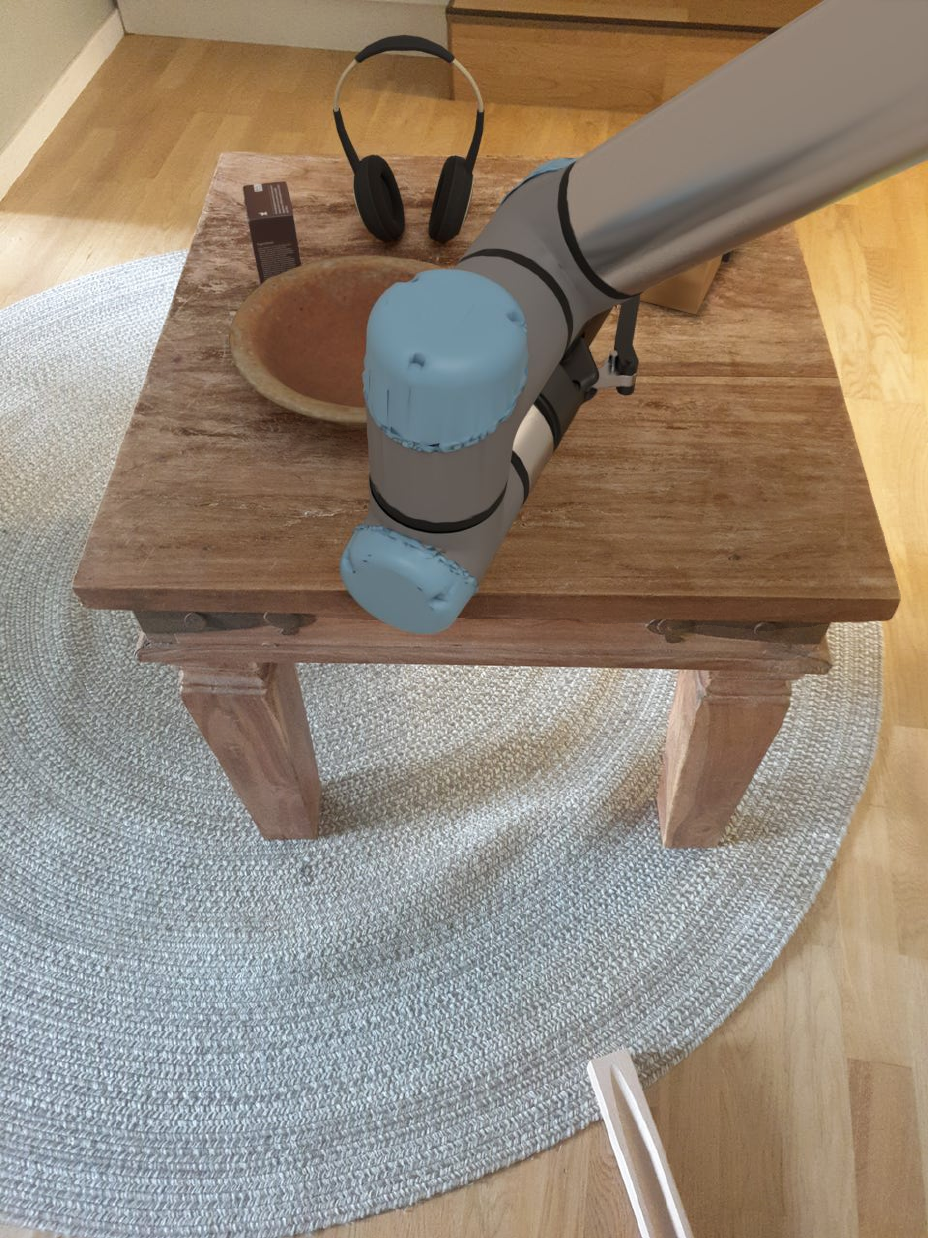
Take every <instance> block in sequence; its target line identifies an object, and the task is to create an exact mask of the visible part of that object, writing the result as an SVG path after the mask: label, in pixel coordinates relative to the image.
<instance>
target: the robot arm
mask: <svg viewBox="0 0 928 1238" xmlns="http://www.w3.org/2000/svg"><path fill="white" fill-rule="evenodd" d="M927 161H928V0H822V1H821V2H819V3H817V5H815V6H813V7H811V8H810V9H808V10H807V11H805V12H804V13H802V14H801V15H799V16H798V17H796V18H795V19H793V20H792V21H791V20H790V22H788V23H787V24H785V25H784V26H782V27H780V28H779V29H777V30H776V31H775V32H773V33H771V34H770V35H768V36H766V37H765V38H763V39H761V40H760V41H759V42H757V43H756V44H754V45H753V46H751V47H749V48H748V49H746V50H744V51H743V52H741V53H740V54H739V55H737V56H735V57H733V59H731V60H729V61H727V62H726V63H724V64H723V65H722V66H720V67H718V68H717V69H715V70H714V71H712V72H711V73H708V75H706V76H704V77H702V78H701V79H700V80H698V81H697V82H695V83H694V84H692V85H690V86H689V87H688V88H686V89H684V90H682V91H681V92H680V93H677V95H674V97H671V98H670V99H668V100H666V102H664V103H662V104H661V105H659V106H658V107H656V108H655V109H653V110H651V111H650V112H648V113H646V114H645V115H644V116H642V117H641V118H638V120H636V121H634V122H633V123H631V124H630V125H628V126H626V127H625V128H624V129H622V130H619V132H617V133H616V134H614V135H612V136H611V137H609V138H608V139H606V140H604V141H603V142H602V143H600V144H598V145H596V146H595V147H594V148H593V149H591V150H589V151H588V152H586V153H584V154H583V155H581V156H580V157H575V158H574V157H573V158H572V157H562V158H553V159H550V160H547V161H545V162H543V163H542V164H540V165H539V166H537V167H535V168H534V169H532V171H531V172H530V173H529V174H527V176H526V177H525V178H524V179H523V180H521V181H519V183H517V185H516V186H514V187H513V188H512V189H511V190H509V191H508V192H507V193H506V194H505V195H504V197H503V198H502V199H501V202H500V204H499V205H498V207H497V209H496V210H495V211H494V213H493V215H492V216H491V218H490V219H489V221H488V222H487V223H486V224H485V226H484V227H483V228H482V230H481V231H480V232H479V234H478V235H477V237H475V239H474V240H473V242H472V243H471V244H470V245H469V247H468V248H467V249H466V251H465V252H464V254H463V255H462V256H461V258H459V260H458V261H457V263H456V264H455V265H454V267H452V268H443V269H435V270H428V271H424V272H420V273H418V274H416V276H415V277H414V278H413V279H412V280H411V281H408V282H406V283H404V282H396V283H395V284H393V285H392V286H391V287H389V288H388V289H387V290H386V291H385V292H384V293H383V294H382V295H381V296H380V297H379V299H378V300H377V302H376V303H375V305H374V307H373V309H372V311H371V314H370V316H369V320H368V325H367V341H366V355H365V358H364V367H365V370H364V372H363V373H362V378H363V384H364V388H363V392H364V394H365V395H364V396H365V402H366V418H367V428H366V432H367V447H368V450H367V451H368V465H369V474H368V491H369V493H368V494H369V508H368V511H367V514H366V516H365V517H364V519H363V521H362V522H361V523H360V524H358V525H356V526H355V528H354V529H353V531H352V536H351V537H350V540H348V543H347V545H346V547H345V549H344V551H343V552H342V554H341V556H340V559H339V560H340V561H339V574H340V578H341V581H342V583H343V585H344V587H345V589H346V591H347V592H348V593H349V595H350V596H351V598H353V600H354V601H355V602H356V603H357V604H358V605H359V606H360V607H361V608H362V609H364V610H365V611H366V613H369V615H371V616H373V617H374V618H376V619H377V620H379V621H380V622H382V623H384V624H385V625H388V626H391V627H393V628H395V629H398V630H399V631H402V632H406V633H411V634H415V635H434V634H438V633H441V632H443V631H445V630H446V629H448V628H450V627H451V626H452V625H453V624H454V623H455V621H456V620H457V618H458V617H459V616H460V614H461V613H462V611H463V610H464V609H465V607H466V605H467V604H468V603H469V601H470V600H471V598H472V597H473V596H475V595H477V593H478V592H479V590H480V587H479V584H480V583H481V581H482V579H483V578H484V575H485V574H486V572H487V570H488V568H489V566H490V564H492V561H493V559H494V558H495V556H496V554H497V552H498V550H499V549H500V547H501V545H502V544H503V542H504V540H505V538H506V536H507V535H508V533H509V531H510V529H511V527H512V526H513V524H514V522H515V520H516V519H517V517H518V516H519V514H520V512H521V510H522V508H523V506H524V505H525V503H526V502H527V500H528V498H529V496H530V495H531V493H532V491H533V489H534V487H536V485H537V483H538V481H539V479H540V477H541V475H542V474H543V472H544V471H545V469H546V468H547V465H548V464H549V462H550V460H551V458H552V457H553V454H554V453H555V451H557V449H558V447H559V446H560V445H561V444H560V443H561V442H562V440H563V439H564V437H565V435H566V433H567V431H568V429H570V426H571V424H572V423H573V421H574V420H575V418H576V416H577V414H578V412H579V410H580V408H581V407H582V405H584V404H585V403H587V402H588V401H590V400H592V399H594V397H595V396H596V395H597V393H598V390H602V389H611V388H615V390H616V392H617V393H618V394H619V395H621V396H630V395H632V394H634V392H635V390H636V385H637V376H638V371H639V363H640V362H639V361H640V359H639V357H638V354H637V352H636V350H635V347H634V339H635V332H636V326H637V320H638V313H639V309H640V302H641V301H640V295H641V293H643V292H644V291H646V290H648V289H650V288H652V287H654V286H657V285H659V284H661V283H663V282H665V281H667V280H670V279H672V278H674V277H676V276H678V275H680V274H683V273H685V272H687V271H689V270H691V269H693V268H695V267H698V266H700V265H702V264H704V263H706V262H708V261H711V260H713V259H715V258H717V257H719V256H721V255H724V254H726V253H728V252H730V251H732V250H734V251H735V250H736V249H739V248H741V247H743V246H745V245H747V244H749V243H751V242H754V241H756V240H758V239H760V238H763V237H764V236H767V235H770V234H771V233H773V232H776V231H778V230H779V229H782V228H784V227H787V226H788V225H790V224H793V223H795V222H797V221H799V220H801V219H803V218H806V217H807V216H810V215H812V214H814V213H817V212H819V211H820V210H821V211H822V210H823V209H825V208H828V207H829V206H831V205H833V204H836V203H838V202H840V201H842V200H845V199H847V198H849V197H851V196H853V195H855V194H857V193H859V192H863V191H864V190H866V189H869V188H870V187H873V186H875V185H877V184H880V183H881V182H884V181H886V180H888V179H890V178H891V177H894V176H896V175H898V174H900V173H903V172H905V171H907V170H909V169H911V168H914V167H916V166H918V165H920V164H922V163H924V162H927ZM619 305H620V307H619V312H618V313H619V314H618V319H617V324H616V330H615V335H614V343H613V350H610V351H609V353H608V356H607V357H605V358H604V359H603V364H602V366H601V367H598V366H597V364H596V361H595V359H594V356H593V353H592V351H591V348H590V347H591V345H592V343H593V342H594V340H595V338H596V337H597V335H598V334H599V332H600V330H601V328H602V327H603V325H604V323H605V322H606V321H607V319H608V317H609V315H610V314H611V312H612V311H613V309H615V310H617V309H618V306H619Z"/></svg>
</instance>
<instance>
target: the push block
mask: <svg viewBox="0 0 928 1238" xmlns="http://www.w3.org/2000/svg"><path fill="white" fill-rule="evenodd" d="M722 256H723V255H721V256H719V257H717V258H715V259H713V260H711V261H708V262H706V263H704V264H702V265H700V266H698V267H695V268H693V269H691V270H689V271H687V272H685V273H683V274H680V275H678V276H676V277H674V278H672V279H670V280H667V281H665V282H663V283H661V284H659V285H657V286H654V287H652V288H650V289H648V290H646V291H644V292H643V293H641V295H640V302H644V303H649V304H653V305H657V306H659V307H665V308H669V309H672V310H675V311H680V312H683V313H688V314H692V315H697V313H698V312H699V309H700V307H701V305H702V304H703V301H704V299H705V297H706V296H707V293H708V291H709V289H710V287H711V285H712V282H713V281H714V278H715V277H716V274H717V272H718V270H719V268H720V266H721V264H722V261H723V260H722Z"/></svg>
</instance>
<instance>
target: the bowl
mask: <svg viewBox="0 0 928 1238" xmlns="http://www.w3.org/2000/svg"><path fill="white" fill-rule="evenodd" d="M435 269H444V268H443V267H441V266H439V265H438V264H437V265H436V264H434V263H431V262H428V261H427V262H426V261H421V260H417V259H413V258H403V257H395V256H394V257H393V256H387V255H346V256H336V257H330V258H325V259H319V260H316V261H312V262H307V263H305V264H301V266H298V267H295V268H293V269H290V270H288V271H286V272H283V273H281V274H279V275H277V276H273V277H270V278H268V279H267V280H266V281H264V282H263V283H262V284H261V285H260V284H259V286H258V287H257V288H256V289H255V290H253V291H252V292H251V293H250V294H249V295H248V296H247V297H246V298H245V300H243V302H242V303H241V304H240V305H239V307H238V309H237V311H236V312H235V315H234V316H233V317H232V320H231V324H230V327H229V333H228V342H229V344H228V345H229V351H230V356H231V359H232V361H233V363H234V365H235V368H236V369H237V371H238V373H239V374H240V376H241V377H242V378H243V380H244V381H245V382H246V383H247V384H248V385H249V386H250V387H252V388H253V390H255V391H256V392H258V393H259V394H260V395H262V396H263V397H264V398H265V399H268V400H269V401H270V402H273V403H275V404H277V405H278V406H280V407H282V408H285V409H287V410H289V411H292V412H294V413H297V414H300V415H303V416H306V417H309V418H313V419H317V420H322V421H327V422H329V423H331V424H332V423H333V424H338V425H342V426H345V427H350V428H352V427H353V428H364V429H367V418H366V402H365V396H364V395H365V394H364V392H363V388H364V384H363V378H362V373H363V372H364V370H365V367H364V358H365V355H366V341H367V325H368V320H369V316H370V314H371V311H372V309H373V307H374V305H375V303H376V302H377V300H378V299H379V297H380V296H381V295H382V294H383V293H384V292H385V291H386V290H387V289H388V288H389V287H391V286H392V285H393V284H395V283H396V282H404V283H406V282H408V281H411V280H412V279H413V278H414V277H415V276H416V274H418V273H420V272H424V271H428V270H435Z"/></svg>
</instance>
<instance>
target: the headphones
mask: <svg viewBox="0 0 928 1238" xmlns="http://www.w3.org/2000/svg"><path fill="white" fill-rule="evenodd" d="M386 52H420V53H421V52H422V53H425V54H428V55H432V56H435V57H437V58H439V59H441V60H444V61H446V63H448V64H452V65H453V66H454V67H455V68H456V69H457V70H458V71H460V72H461V73H462V75H463V76H464V77H465V78H466V80H467V81H468V83H469V85H470V86H471V88H472V90H473V92H474V94H475V95H474V96H475V97H476V101H477V110H476V115H475V116H476V117H475V123H474V124H475V125H474V132H473V136H472V140H471V143H470V146H469V148H468V151H467V154H466V156H465V157H462V156H460V155H456V154H455V155H450V156H447V158H446V160H445V161H444V163H443V166H442V168H441V172H440V173H439V178H438V180H437V185H436V187H435V192H434V197H433V201H432V206H431V210H430V215H429V221H428V232H427V233H428V236H429V238H430V239H431V240H432V241H433V242H434V243H437V244H442V245H443V244H447V243H449V242H450V241H452V240H453V239H455V238H456V237H457V236H460V234H461V232H462V230H463V228H464V225H465V224H466V223H465V222H466V220H467V217H468V213H469V211H470V207H471V204H472V203H471V202H472V198H473V192H474V187H475V184H474V183H475V174H474V168H475V165H476V161H477V158H478V155H479V151H480V147H481V143H482V139H483V135H484V127H485V126H484V125H485V109H484V102H483V97H482V95H481V92H480V89H479V86H478V85H477V83H476V81H475V79H474V78H473V76H472V75H471V73H470V72H469V71H468V70H467V69H466V68H465V67H464V65H462V63H460V61H458V60H457V59H456V56H455V55H454V54H452V52H450V51H449V50H448V49H447V48H445V47H444V46H442V45H441V44H438V43H436V42H434V41H432V40H430V39H428V38H426V37H422V36H417V35H410V34H400V35H399V34H398V35H391V36H387V37H386V36H385V37H383V38H380V39H377V40H376V41H373V42H372V43H369V44H368V45H366V46H365V47H364V48H363V49H362V50H360V51H359V52H358V53H357V54H356V55H355V56H354V59H353V60H352V61H351V62H350V64H349V65H348V66H347V67H346V68H345V70H343V73H342V74H341V76H340V77H339V80H338V82H337V85H336V87H335V92H334V96H333V109H332V114H333V118H334V123H335V129H336V132H337V135H338V137H339V140H340V143H341V146H342V148H343V151H344V154H345V156H346V158H347V161H348V163H349V166H350V169H351V170H352V173H353V176H352V183H351V184H352V186H351V187H352V194H353V199H354V203H355V207H356V211H357V213H358V216H359V218H360V220H361V223H362V224H363V227H364V228H365V230H366V231H367V232H368V233H369V234H370V235H372V236H373V237H374V238H376V239H377V240H378V241H380V242H382V243H383V244H391V243H394V242H397V241H399V239H401V238H402V237H403V235H404V232H405V230H406V215H405V208H404V203H403V197H402V195H401V190H400V188H399V185H398V182H397V179H396V177H395V174H394V172H393V171H392V168H391V167H390V164H389V163H388V162H387V161H386V159H385V158H383V157H382V156H381V155H378V154H370V155H367V156H364V157H363V158H361V159H360V158H359V156H358V154H357V152H356V150H355V147H354V146H353V144H352V141H351V139H350V137H349V135H348V131H347V129H346V126H345V123H344V118H343V113H342V111H341V110H342V109H341V108H340V104H339V103H340V102H339V100H340V95H341V90H342V87H343V85H344V82H345V81H346V79H347V78H348V75H349V74H350V73H351V72H352V70H353V69H355V67H356V66H358V64H360V63H361V64H362V63H363V62H364V61H365V60H368V59H369V58H371V57H373V56H376V55H379V54H383V53H386Z"/></svg>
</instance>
